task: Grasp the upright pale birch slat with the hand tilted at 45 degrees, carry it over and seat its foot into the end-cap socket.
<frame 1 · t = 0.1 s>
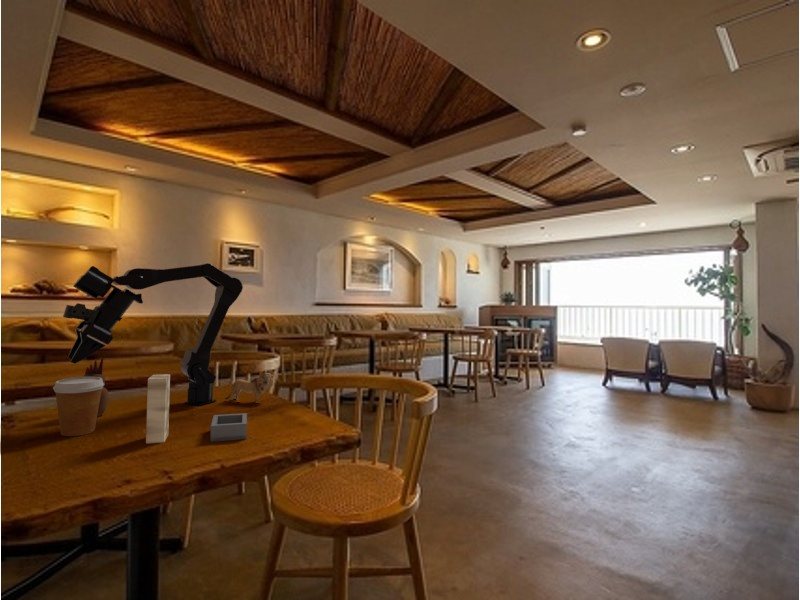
hand: (71, 360, 108), 15 cm above the table, tool tilted 35°, fingers open, 9 cm apart
slat: (157, 439, 95), on the table
disposable coffee cup: (78, 432, 99), on the table
wooden figurine: (92, 416, 111), on the table
lion figurine: (250, 402, 132), on the table
end cap: (229, 434, 100), on the table
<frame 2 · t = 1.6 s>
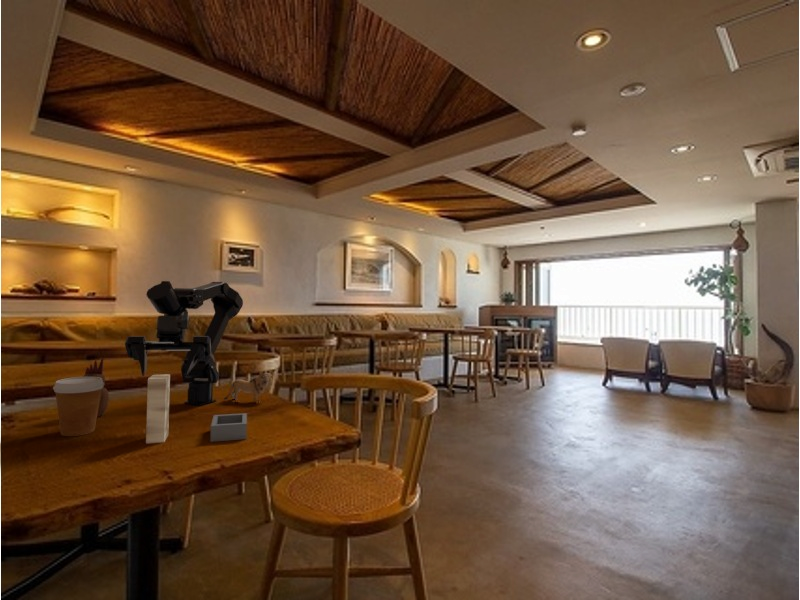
hand: (164, 374, 102), 13 cm above the table, tool tilted 45°, fingers open, 9 cm apart
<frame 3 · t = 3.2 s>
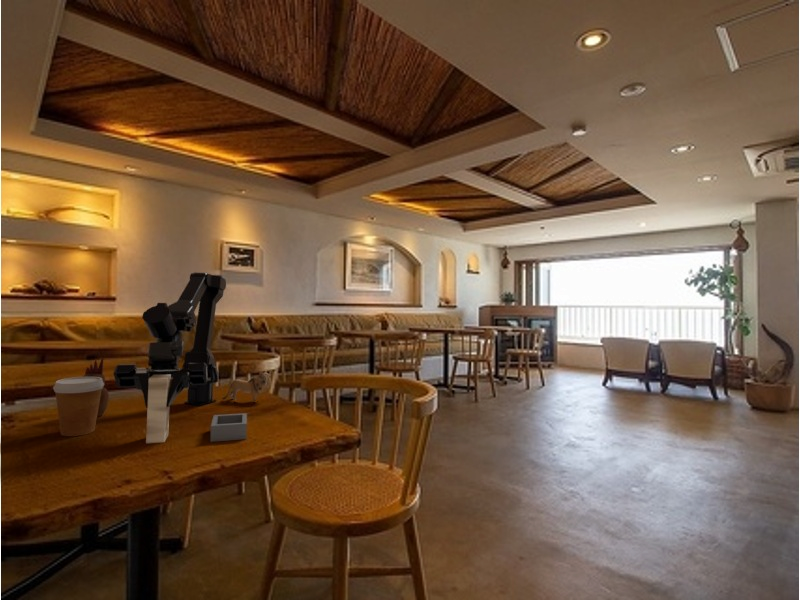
hand: (157, 406, 94), 8 cm above the table, tool tilted 45°, fingers closed on slat, 4 cm apart
slat: (157, 439, 95), on the table, touching gripper
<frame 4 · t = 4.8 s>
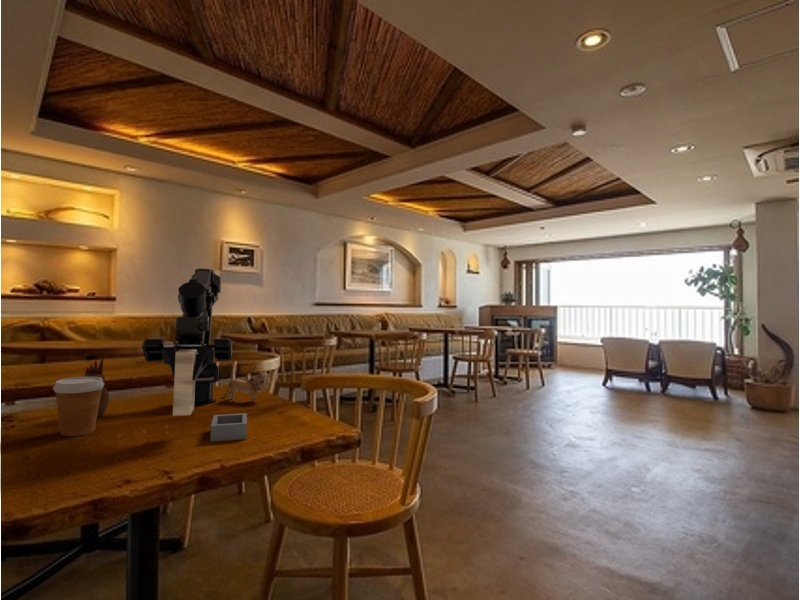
hand: (184, 379, 96), 13 cm above the table, tool tilted 45°, fingers closed on slat, 3 cm apart
slat: (183, 412, 97), point 6 cm above the table, touching gripper
when the fingers open (9 cm above the table, at t = 6.4 s): slat stays where it is, resting on end cap.
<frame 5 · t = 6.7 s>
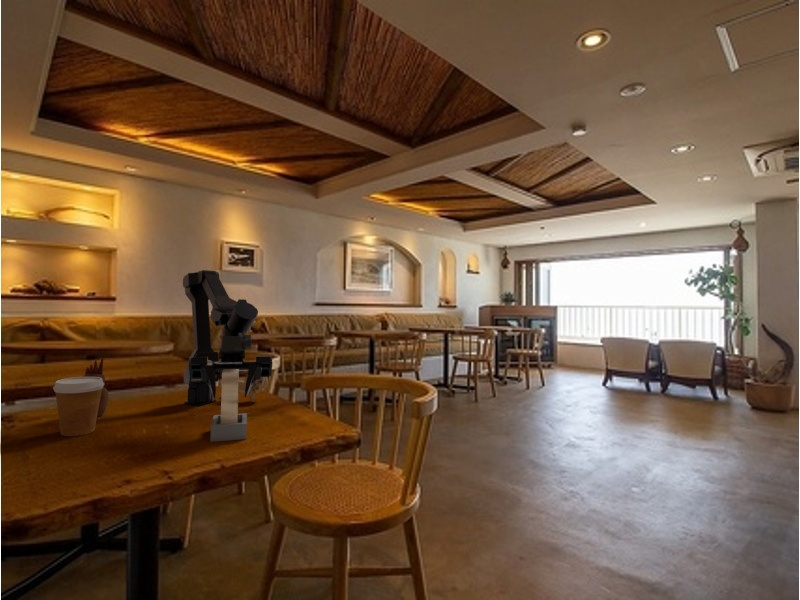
hand: (230, 396, 99), 9 cm above the table, tool tilted 45°, fingers open, 6 cm apart
slat: (229, 430, 100), point 1 cm above the table, touching end cap
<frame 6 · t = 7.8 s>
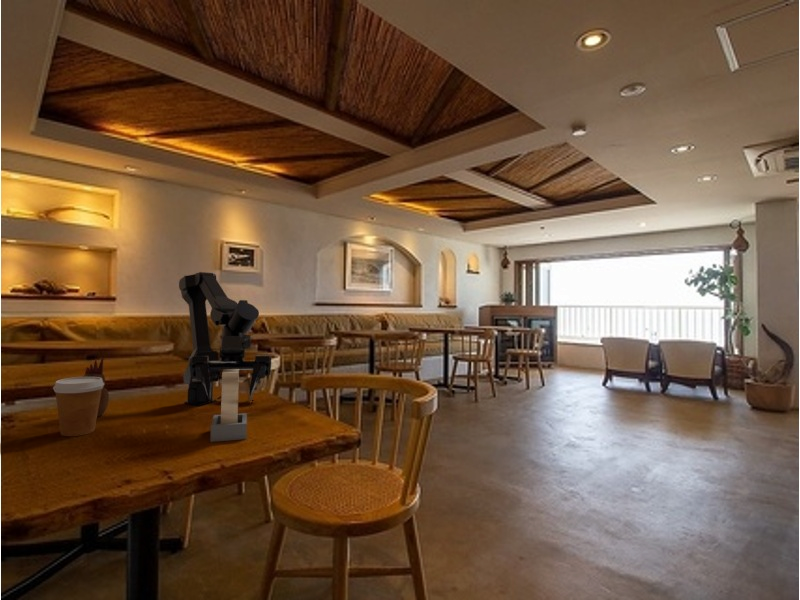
hand: (229, 395, 101), 9 cm above the table, tool tilted 45°, fingers open, 9 cm apart
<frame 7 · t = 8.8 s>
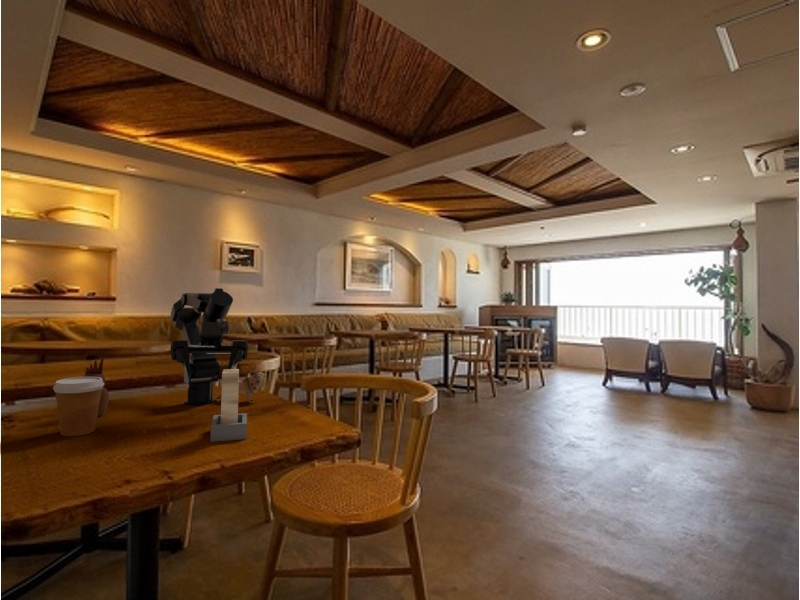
hand: (208, 376, 110), 11 cm above the table, tool tilted 45°, fingers open, 9 cm apart
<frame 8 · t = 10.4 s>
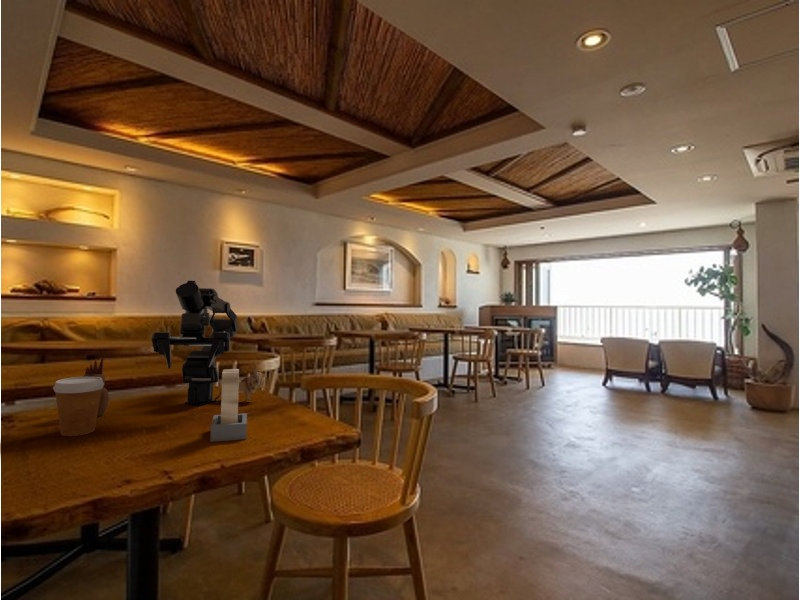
hand: (188, 367, 110), 14 cm above the table, tool tilted 45°, fingers open, 9 cm apart
at the end: slat 0.1 cm off-centre on the end cap, point 0.8 cm above the end cap's base; slat tilted 0°; the gripper is holding nothing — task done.
